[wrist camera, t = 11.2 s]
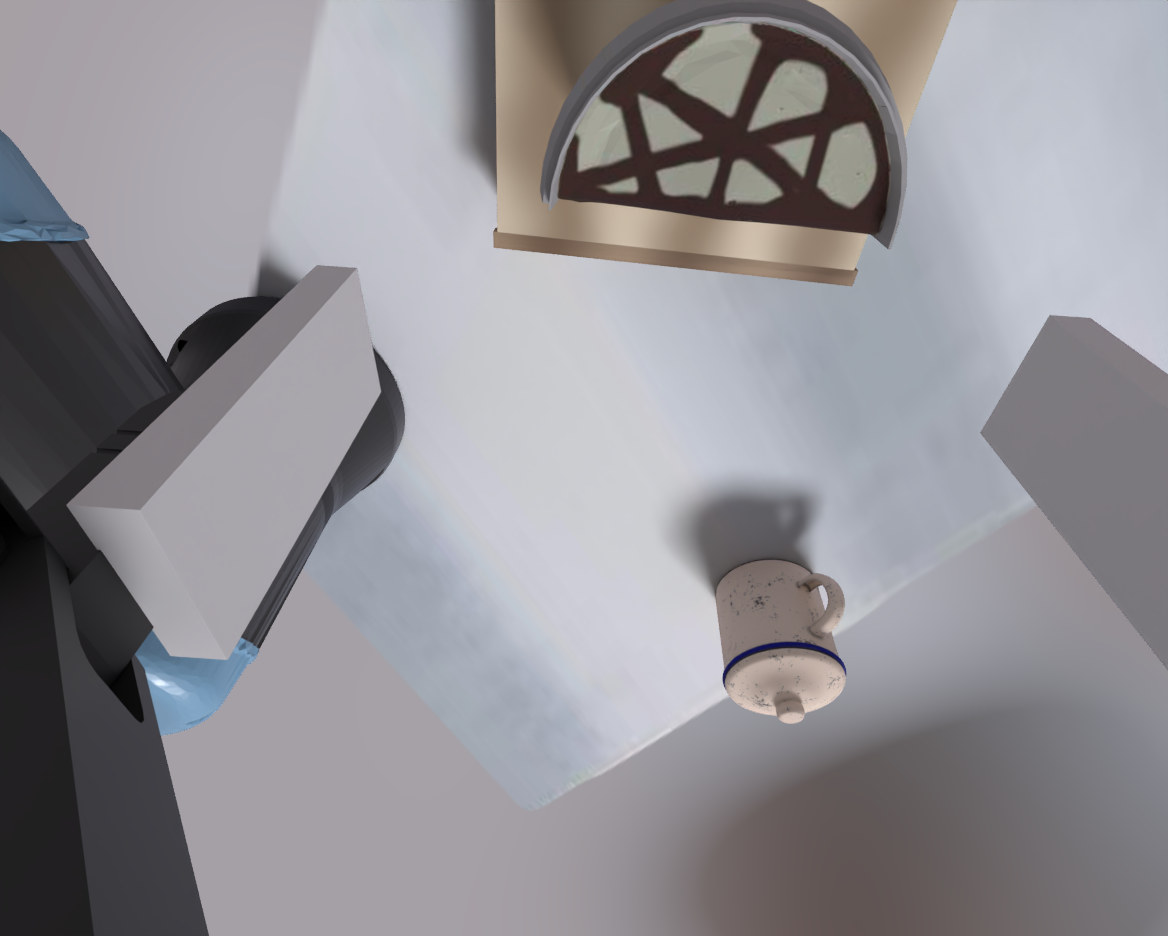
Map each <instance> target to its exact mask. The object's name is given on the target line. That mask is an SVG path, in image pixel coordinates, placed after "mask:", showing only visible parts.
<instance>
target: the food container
mask: <svg viewBox="0 0 1168 936" xmlns="http://www.w3.org/2000/svg"><path fill="white" fill-rule="evenodd" d="M906 182H907V151H906V144H905V136H904V129H903V124H902V121H901V118H900V115H899V112H898V109H897V106H896V102H895V99H894V96H893V94H892V91H891V89H890V86H889V84H888V82H887V79H886V77H885V76H884V74H883V72H882V70H881V69H880V67H879V65H878V63H877V62H876V60H875V58H874V56H873V54H872V53H871V51H870V50H869V49H868V48H867V47H866V46H865V44H864V43H863V42H862V41H861V40H860V39H859V37H858V36H857V35H856V34H855V33H854V32H853V31H852V29H851V28H850V27H848V26H847V25H846V24H844V23H843V22H842V21H840V20H839V19H838V18H836V17H835V16H834V15H832V14H831V13H830V12H828V11H827V10H826V9H824V8H822V7H820V6H818V5H816V4H814V3H811V2H809V1H807V0H676V1H673V2H671V3H668V4H666V5H663V6H661V7H659V8H657V9H656V10H654V11H652V12H651V13H649V14H647V15H646V16H644V17H642V18H641V19H639V20H638V21H636V22H634V23H633V24H631V25H630V26H629V27H627V28H626V29H625V30H624V31H623V32H622V33H620V34H619V35H618V36H617V37H616V38H615V39H613V40H612V41H611V42H610V43H609V44H608V45H606V46H605V47H604V48H603V49H602V50H601V52H600V53H599V54H598V55H597V56H596V58H595V59H594V60H593V61H592V62H591V63H590V65H589V66H588V67H587V68H586V69H585V71H584V72H583V73H582V74H581V76H580V77H579V79H578V81H577V82H576V84H575V85H574V87H573V89H572V90H571V92H570V94H569V95H568V97H567V98H566V100H565V102H564V103H563V106H562V108H561V110H560V113H559V115H558V117H557V120H556V122H555V125H554V127H553V129H552V132H551V134H550V138H549V142H548V146H547V150H546V153H545V157H544V161H543V167H542V175H541V184H540V194H541V198H542V203H546V204H549V208H548V210H551V209H552V208H553V206H554V205H555V204H556V203H557V201H558V200H559V199H563V200H571V201H575V202H579V203H581V202H594V203H606V204H614V205H622V206H629V207H637V208H645V209H652V210H659V211H666V212H673V213H679V214H686V215H692V216H698V217H705V218H711V219H717V220H729V221H743V222H758V223H769V224H779V225H790V226H800V227H809V228H817V229H826V230H835V231H844V232H853V233H862V234H871V235H872V236H873V237H874V238H876V239H877V240H878V241H879V242H880V243H881V244H883V245H884V246H885V247H886V248H887V249H891V247H892V243H893V240H894V237H895V234H896V231H897V228H898V225H899V221H900V218H901V213H902V208H903V202H904V197H905V191H906Z"/></svg>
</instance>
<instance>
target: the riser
mask: <svg viewBox="0 0 1168 936" xmlns="http://www.w3.org/2000/svg"><path fill="white" fill-rule="evenodd" d="M673 1H676V0H495V48H496V144H497V228H495V230H494V231H493V235H494V248H503V249H512V250H521V251H531V252H540V253H549V254H558V255H568V256H577V257H586V258H595V259H605V260H614V261H623V262H632V263H642V264H651V265H660V266H669V267H679V268H688V269H697V270H706V271H716V272H725V273H734V274H743V275H753V276H762V277H771V278H780V279H790V280H799V281H808V282H817V283H827V284H836V285H845V286H852V285H853V283H854V280H855V278H856V275H857V272H858V270H857V269H856V268H855V267H856V264H857V262H858V259H859V256H860V254H861V251H862V249H863V246H864V243H865V241H866V238H867V236H868V234H862V233H853V232H844V231H835V230H826V229H817V228H809V227H800V226H790V225H779V224H769V223H758V222H743V221H729V220H717V219H711V218H705V217H698V216H692V215H686V214H679V213H673V212H666V211H659V210H652V209H645V208H637V207H629V206H622V205H614V204H606V203H594V202H581V203H579V202H575V201H571V200H563V199H559V200H558V201H557V203H556V204H555V205H554V206H553V208H552V209H551V210H548V208H549V204H546V203H542V198H541V194H540V184H541V175H542V167H543V161H544V157H545V153H546V150H547V146H548V142H549V138H550V134H551V132H552V129H553V127H554V125H555V122H556V120H557V117H558V115H559V113H560V110H561V108H562V106H563V103H564V102H565V100H566V98H567V97H568V95H569V94H570V92H571V90H572V89H573V87H574V85H575V84H576V82H577V81H578V79H579V77H580V76H581V74H582V73H583V72H584V71H585V69H586V68H587V67H588V66H589V65H590V63H591V62H592V61H593V60H594V59H595V58H596V56H597V55H598V54H599V53H600V52H601V50H602V49H603V48H604V47H605V46H606V45H608V44H609V43H610V42H611V41H612V40H613V39H615V38H616V37H617V36H618V35H619V34H620V33H622V32H623V31H624V30H625V29H626V28H627V27H629V26H630V25H631V24H633V23H634V22H636V21H638V20H639V19H641V18H642V17H644V16H646V15H647V14H649V13H651V12H652V11H654V10H656V9H657V8H659V7H661V6H663V5H666V4H668V3H671V2H673ZM807 1H809V2H811V3H814V4H816V5H818V6H820V7H822V8H824V9H826V10H827V11H828V12H830V13H831V14H832V15H834V16H835V17H836V18H838V19H839V20H840V21H842V22H843V23H844V24H846V25H847V26H848V27H850V28H851V29H852V31H853V32H854V33H855V34H856V35H857V36H858V37H859V39H860V40H861V41H862V42H863V43H864V44H865V46H866V47H867V48H868V49H869V50H870V51H871V53H872V54H873V56H874V58H875V60H876V62H877V63H878V65H879V67H880V69H881V70H882V72H883V74H884V76H885V77H886V79H887V82H888V84H889V86H890V89H891V91H892V94H893V96H894V99H895V102H896V106H897V109H898V112H899V115H900V118H901V121H902V124H903V129H904V136H906V134H907V131H908V128H909V126H910V123H911V121H912V118H913V115H914V113H915V110H916V108H917V105H918V102H919V100H920V97H921V94H922V92H923V89H924V87H925V84H926V81H927V79H928V76H929V74H930V71H931V68H932V66H933V63H934V61H935V58H936V55H937V53H938V50H939V47H940V45H941V42H942V40H943V37H944V34H945V32H946V29H947V27H948V24H949V21H950V19H951V16H952V14H953V11H954V8H955V6H956V3H957V0H807Z"/></svg>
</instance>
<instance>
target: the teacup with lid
mask: <svg viewBox="0 0 1168 936" xmlns="http://www.w3.org/2000/svg"><path fill="white" fill-rule="evenodd" d="M820 585H823V586H824V588H825V589H826V592H827V595H828V605H827V608H826V611H825V609H824V606H823V602H822V599H821V595H820V592H819V589H818V586H820ZM715 597H716V606H717V614H718V622H719V630H720V638H721V646H722V653H723V661H724V669H725V670H724V673H723V684H724V687H725V689H726V691H727V693H728V694H729V696H730V697H731V698H732V699H733V700H734V701H735V702H736V703H737V704H739V705H740V706H742V707H743V708H746V709H748V710H750V711H753V712H757V713H761V714H767V715H777V717H778V718H779V719H780V720H781V721H782V722H784V723H797V722H800V721H801V720H802V719H803V718H804V716H805V713H806V712H810V711H813V710H816V709H819V708H821V707H823V706H825V705H827V704H828V703H830V702H832V701H833V700H834V699H835V698H837V697H838V695H839V694H840V693H841V691H842V690H843V688H844V685H845V681H846V668H845V666H844V663H843V662H842V660H841V659H840V658H839V657H838V653H837V650H836V647H835V643H834V640H833V636H832V633H831V631H832V630H833V629H834V628H835V627H836V626H837V625H838V623H839V622H840V620H841V618H842V615H843V612H844V608H845V599H844V595H843V592H842V590H841V588H840V586H839V585H838V583H837V582H836V581H835V580H833V579H832V578H830V577H828V576H826V575H823V574H818V573H816V574H811V573H809V572H808V571H807V570H806V569H805V568H803V567H801V566H799V565H797V564H794V563H791V562H788V561H782V560H760V561H754V562H750V563H747V564H744V565H742V566H739V567H737V568H735V569H734V570H732V571H731V572H729V573H728V574H727V575H726V576H725V577H724V578H723V579H722V580H721V581H720V583H719V585H718V587H717V589H716V596H715Z"/></svg>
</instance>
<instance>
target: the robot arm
mask: <svg viewBox="0 0 1168 936" xmlns="http://www.w3.org/2000/svg"><path fill="white" fill-rule="evenodd" d="M88 238H89V236H88V234H87V232H86V230H85V229H84V227H83V226H81V225H79V224H77V223H75V222H73V221H72V220H71V219H70V218H69V216H68V215H67V214H66V212H65V211H64V210H63V208H62V207H61V205H60V204H59V203H58V201H57V200H56V199H55V197H54V196H53V195H52V193H51V192H50V191H49V189H48V188H47V187H46V185H45V184H44V183H43V181H42V180H41V178H40V177H39V176H38V174H37V173H36V172H35V170H34V169H33V168H32V166H31V165H30V163H29V162H28V161H27V159H26V158H25V157H24V155H23V154H22V153H21V151H20V150H19V148H18V147H17V146H16V145H15V144H14V143H13V142H12V140H11V139H10V138H9V137H8V136H7V135H5V134H4V133H3V132H2V131H1V130H0V936H209V934H208V930H207V926H206V922H205V918H204V913H203V909H202V905H201V901H200V897H199V892H198V889H197V884H196V880H195V876H194V872H193V868H192V864H191V859H190V855H189V852H188V847H187V843H186V839H185V835H184V831H183V826H182V822H181V818H180V814H179V809H178V806H177V801H176V797H175V793H174V789H173V785H172V780H171V776H170V772H169V768H168V764H167V760H166V756H165V751H164V747H163V743H162V739H161V736H162V735H168V734H173V733H177V732H181V731H184V730H187V729H190V728H192V727H194V726H196V725H198V724H200V723H201V722H203V721H205V720H206V719H208V718H209V717H210V716H211V715H212V714H213V713H214V712H215V711H217V710H218V709H219V707H220V706H221V705H222V704H223V702H224V701H225V699H226V698H227V696H228V694H229V693H230V691H231V690H232V688H233V687H234V685H235V683H236V682H237V680H238V679H239V677H240V676H241V674H242V672H243V671H244V669H245V668H246V666H247V665H248V664H251V662H252V661H254V660H255V659H256V657H257V654H258V652H259V648H260V647H261V645H262V643H263V641H264V639H265V637H266V636H267V634H268V632H269V630H270V628H271V626H272V624H273V622H274V620H275V619H276V617H277V615H278V613H279V611H280V609H281V608H282V606H283V604H284V602H285V600H286V598H287V596H288V595H289V593H290V591H291V589H292V587H293V585H294V583H295V581H296V580H297V578H298V576H299V574H300V572H301V570H302V569H303V567H304V565H305V563H306V561H307V559H308V557H309V555H310V554H311V552H312V550H313V548H314V546H315V544H316V542H317V541H318V539H319V537H320V535H321V533H322V531H323V529H324V527H325V526H326V524H327V522H328V520H329V519H330V517H331V515H332V514H334V513H335V512H336V511H337V510H339V509H340V508H341V507H342V506H343V505H345V504H346V503H347V502H348V501H349V500H351V499H352V498H353V497H354V496H355V495H356V494H358V493H359V492H360V491H362V490H363V489H365V488H366V487H368V486H369V485H371V484H372V483H373V482H375V481H376V480H377V479H378V478H379V477H380V476H381V475H382V474H383V473H384V471H385V470H386V469H387V467H388V466H389V464H390V462H391V461H392V459H393V457H394V455H395V453H396V451H397V449H398V447H399V445H400V442H401V440H402V437H403V433H404V427H405V413H404V406H403V401H402V398H401V395H400V392H399V389H398V387H397V384H396V382H395V380H394V378H393V377H392V375H391V373H390V372H389V370H388V368H387V367H386V366H385V364H384V363H383V361H382V360H381V359H380V358H379V356H378V355H377V354H376V353H375V352H374V351H373V347H372V342H371V337H370V332H369V326H368V321H367V316H366V311H365V306H364V301H363V296H362V291H361V285H360V280H359V275H358V270H357V268H348V267H333V266H319V265H317V266H316V267H315V268H314V269H313V270H311V271H310V272H309V273H308V274H307V275H306V276H305V277H304V278H303V279H302V280H301V281H300V282H299V283H298V284H297V285H296V286H295V287H294V288H293V289H292V290H291V291H290V292H288V293H287V294H286V295H285V296H284V297H283V298H282V299H278V298H271V297H244V298H238V299H234V300H230V301H227V302H224V303H221V304H219V305H217V306H215V307H213V308H212V309H210V310H209V311H207V312H206V313H205V314H203V315H202V316H201V317H200V318H198V319H197V320H196V321H195V322H194V323H192V324H191V325H190V326H188V327H187V328H186V329H185V330H184V331H183V332H182V334H181V335H180V336H179V337H178V339H177V340H176V342H175V343H174V345H173V347H172V349H171V351H170V354H169V356H168V359H167V362H166V361H165V359H164V358H163V356H162V355H161V353H160V352H159V350H158V349H157V348H156V346H155V344H154V343H153V341H152V340H151V339H150V337H149V335H148V334H147V332H146V331H145V329H144V328H143V326H142V325H141V323H140V322H139V320H138V319H137V317H136V316H135V314H134V313H133V312H132V310H131V308H130V307H129V305H128V304H127V302H126V301H125V299H124V298H123V296H122V295H121V293H120V292H119V290H118V289H117V287H116V286H115V285H114V283H113V281H112V280H111V278H110V277H109V275H108V274H107V272H106V271H105V270H104V268H103V266H102V265H101V263H100V262H99V260H98V259H97V258H96V256H95V254H94V253H93V251H92V250H91V248H90V247H89V245H88V244H87V242H86V241H85V239H88ZM981 434H982V436H983V437H984V438H985V440H986V441H987V442H988V443H989V445H990V446H991V447H992V448H993V450H994V451H995V452H996V453H997V455H998V456H999V457H1000V459H1001V460H1002V461H1003V462H1004V464H1005V465H1006V466H1007V467H1008V469H1009V470H1010V471H1011V472H1012V474H1013V475H1014V476H1015V477H1016V479H1017V480H1018V481H1019V483H1020V484H1021V485H1022V486H1023V488H1024V489H1025V490H1026V491H1027V493H1028V494H1029V495H1030V496H1031V498H1032V499H1033V500H1034V501H1035V503H1036V504H1037V505H1038V507H1039V508H1040V509H1041V510H1042V512H1043V513H1044V514H1045V515H1046V516H1047V518H1048V519H1049V520H1050V522H1051V523H1052V524H1053V526H1054V527H1055V528H1056V529H1057V531H1058V532H1059V533H1060V534H1061V536H1062V537H1063V538H1064V539H1065V541H1066V542H1067V543H1068V544H1069V545H1070V547H1071V548H1072V550H1073V551H1074V552H1075V553H1076V555H1077V556H1078V557H1079V558H1080V560H1081V561H1082V562H1083V563H1084V565H1085V566H1086V567H1087V568H1088V570H1089V571H1090V572H1091V574H1092V575H1093V576H1094V577H1095V579H1096V580H1097V581H1098V582H1099V584H1100V585H1101V586H1102V587H1103V589H1104V590H1105V591H1106V593H1107V594H1108V595H1109V596H1110V598H1111V599H1112V600H1113V601H1114V603H1115V604H1116V605H1117V606H1118V608H1119V609H1120V610H1121V611H1122V613H1123V614H1124V615H1125V616H1126V618H1127V619H1128V620H1129V622H1130V623H1131V624H1132V625H1133V627H1134V628H1135V629H1136V630H1137V632H1138V633H1139V634H1140V636H1141V637H1142V638H1143V639H1144V641H1145V642H1146V643H1147V644H1148V645H1149V647H1150V648H1151V649H1152V651H1153V652H1154V653H1155V654H1156V656H1157V657H1158V658H1159V660H1160V661H1161V662H1162V663H1163V665H1164V666H1165V667H1166V668H1167V670H1168V374H1167V373H1165V372H1164V371H1163V370H1161V369H1160V368H1158V367H1157V366H1156V365H1154V364H1153V363H1152V362H1150V361H1149V360H1147V359H1146V358H1145V357H1143V356H1142V355H1141V354H1139V353H1138V352H1136V351H1135V350H1134V349H1132V348H1131V347H1129V346H1128V345H1127V344H1125V343H1124V342H1123V341H1121V340H1120V339H1118V338H1117V337H1116V336H1114V335H1113V334H1112V333H1110V332H1109V331H1107V330H1106V329H1105V328H1103V327H1102V326H1101V325H1099V324H1098V323H1096V322H1095V321H1094V320H1092V319H1091V318H1082V317H1068V316H1053V315H1050V316H1049V317H1048V319H1047V321H1046V322H1045V324H1044V326H1043V328H1042V329H1041V331H1040V333H1039V334H1038V336H1037V338H1036V339H1035V341H1034V343H1033V344H1032V346H1031V348H1030V350H1029V351H1028V353H1027V355H1026V356H1025V358H1024V360H1023V361H1022V363H1021V365H1020V366H1019V368H1018V370H1017V372H1016V373H1015V375H1014V377H1013V378H1012V380H1011V382H1010V383H1009V385H1008V387H1007V389H1006V390H1005V392H1004V394H1003V395H1002V397H1001V399H1000V400H999V402H998V404H997V405H996V407H995V409H994V411H993V412H992V414H991V416H990V417H989V419H988V421H987V422H986V424H985V426H984V428H983V429H982V431H981Z"/></svg>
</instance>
